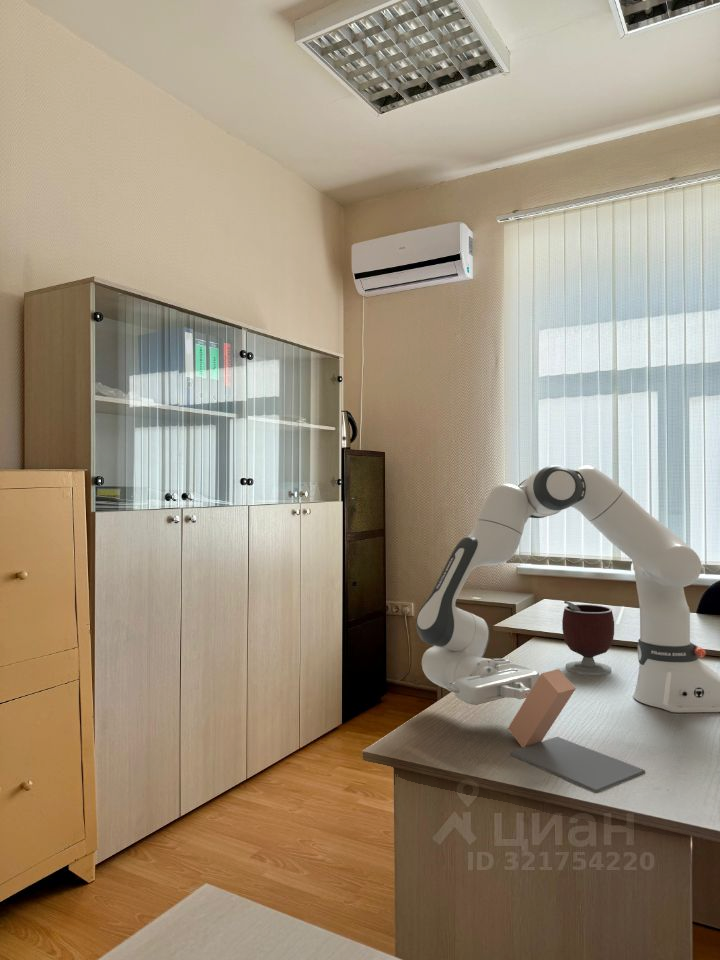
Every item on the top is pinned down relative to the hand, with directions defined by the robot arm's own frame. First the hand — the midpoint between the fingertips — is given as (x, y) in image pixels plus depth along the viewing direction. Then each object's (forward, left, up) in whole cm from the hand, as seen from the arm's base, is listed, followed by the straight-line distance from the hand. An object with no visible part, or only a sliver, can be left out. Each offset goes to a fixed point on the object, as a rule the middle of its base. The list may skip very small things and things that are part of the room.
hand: (526, 694), depth 140 cm
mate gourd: (-19, -59, -10) cm, 63 cm away
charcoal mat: (-8, +8, -10) cm, 16 cm away
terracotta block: (+1, 0, -9) cm, 9 cm away
